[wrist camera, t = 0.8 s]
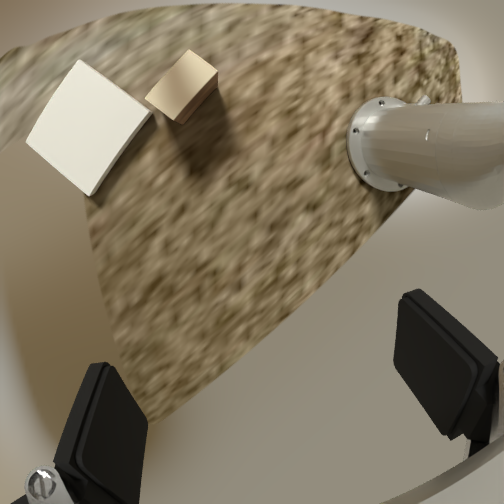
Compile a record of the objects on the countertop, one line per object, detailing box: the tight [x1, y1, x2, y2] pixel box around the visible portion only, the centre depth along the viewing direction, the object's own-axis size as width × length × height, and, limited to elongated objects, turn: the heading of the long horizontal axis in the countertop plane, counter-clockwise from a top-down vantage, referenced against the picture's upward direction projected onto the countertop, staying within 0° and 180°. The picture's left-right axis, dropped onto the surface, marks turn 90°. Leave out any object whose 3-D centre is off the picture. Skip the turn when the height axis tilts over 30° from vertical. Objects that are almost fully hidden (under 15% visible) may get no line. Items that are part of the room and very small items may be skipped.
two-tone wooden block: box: [145, 50, 218, 125], centre depth 27 cm, size 6×4×8 cm, turn 139°
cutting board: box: [26, 60, 153, 196], centre depth 29 cm, size 12×12×2 cm
